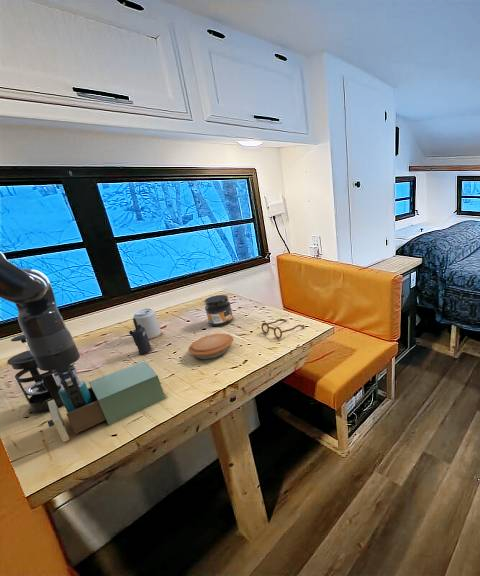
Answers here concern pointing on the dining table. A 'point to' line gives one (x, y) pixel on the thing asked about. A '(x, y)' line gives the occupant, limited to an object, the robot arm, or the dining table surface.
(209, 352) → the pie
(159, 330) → the can
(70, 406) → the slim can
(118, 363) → the dining table surface
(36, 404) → the french press
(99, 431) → the dining table surface
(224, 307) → the supplement container
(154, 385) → the cabinet
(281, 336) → the glasses
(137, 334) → the two-way radio
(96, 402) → the drawer
